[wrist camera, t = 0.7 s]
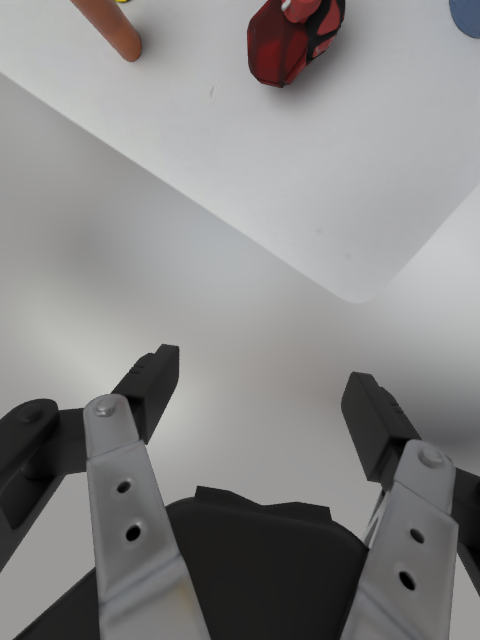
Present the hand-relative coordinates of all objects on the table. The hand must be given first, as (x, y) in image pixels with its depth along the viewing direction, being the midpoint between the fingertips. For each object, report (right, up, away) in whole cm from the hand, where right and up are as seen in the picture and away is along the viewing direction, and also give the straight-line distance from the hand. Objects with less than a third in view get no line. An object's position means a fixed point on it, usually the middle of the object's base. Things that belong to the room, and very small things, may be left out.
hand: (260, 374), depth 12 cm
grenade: (+4, +26, +12) cm, 29 cm away
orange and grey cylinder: (-11, +28, +12) cm, 33 cm away
